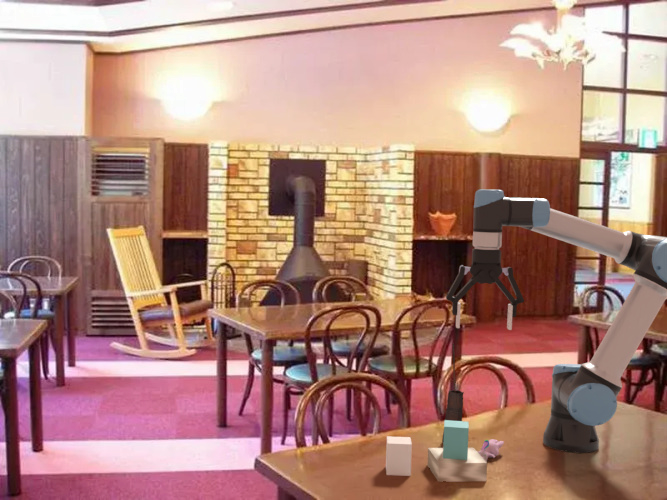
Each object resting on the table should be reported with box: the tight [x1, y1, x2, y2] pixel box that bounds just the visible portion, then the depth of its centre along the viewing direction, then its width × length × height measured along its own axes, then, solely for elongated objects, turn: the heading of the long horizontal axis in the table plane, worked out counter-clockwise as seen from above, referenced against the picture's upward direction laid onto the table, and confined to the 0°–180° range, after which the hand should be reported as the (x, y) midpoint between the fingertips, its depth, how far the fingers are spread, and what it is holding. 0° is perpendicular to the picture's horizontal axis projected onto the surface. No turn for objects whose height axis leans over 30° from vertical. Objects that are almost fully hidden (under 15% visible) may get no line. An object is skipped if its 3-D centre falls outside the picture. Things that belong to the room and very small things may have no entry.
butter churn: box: [441, 343, 465, 443], centre depth 233 cm, size 9×10×28 cm
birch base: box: [426, 447, 488, 483], centre depth 209 cm, size 12×12×5 cm
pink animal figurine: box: [476, 438, 505, 463], centre depth 222 cm, size 6×6×15 cm
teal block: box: [442, 419, 470, 460], centre depth 209 cm, size 6×6×8 cm
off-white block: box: [385, 435, 413, 477], centre depth 209 cm, size 6×6×8 cm
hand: (483, 328), depth 220 cm, fingers open, 13 cm apart
